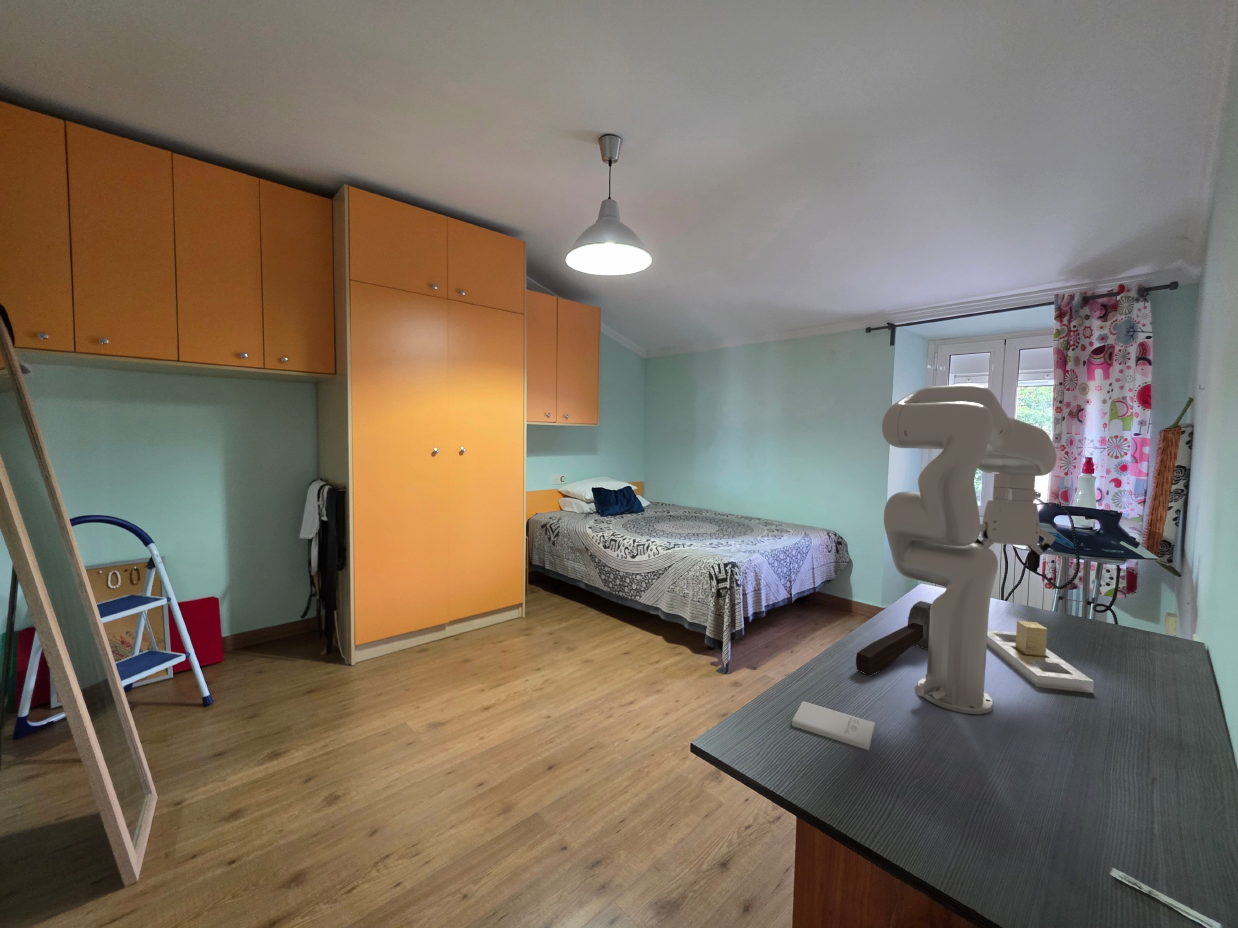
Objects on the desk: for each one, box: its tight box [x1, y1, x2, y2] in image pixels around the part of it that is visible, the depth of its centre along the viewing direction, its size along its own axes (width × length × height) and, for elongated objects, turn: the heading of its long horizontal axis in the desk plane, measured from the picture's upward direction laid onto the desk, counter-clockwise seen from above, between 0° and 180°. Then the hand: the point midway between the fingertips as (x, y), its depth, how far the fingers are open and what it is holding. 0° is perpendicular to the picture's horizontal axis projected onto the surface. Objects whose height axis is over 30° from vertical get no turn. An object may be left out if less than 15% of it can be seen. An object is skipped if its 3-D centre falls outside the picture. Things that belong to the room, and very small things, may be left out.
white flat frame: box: [987, 629, 1095, 694], centre depth 117 cm, size 26×10×2 cm, turn 167°
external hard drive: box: [791, 700, 876, 751], centre depth 90 cm, size 2×8×12 cm
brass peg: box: [1015, 620, 1048, 658], centre depth 117 cm, size 4×4×9 cm
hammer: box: [855, 600, 932, 676], centre depth 118 cm, size 5×11×30 cm
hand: (1007, 568), depth 118 cm, fingers open, 9 cm apart
